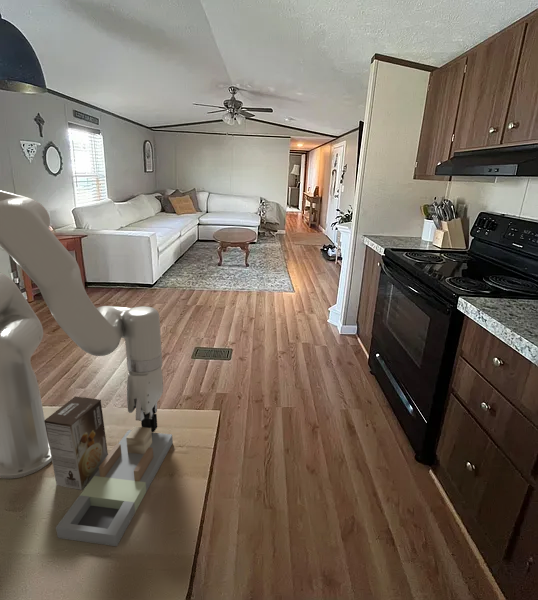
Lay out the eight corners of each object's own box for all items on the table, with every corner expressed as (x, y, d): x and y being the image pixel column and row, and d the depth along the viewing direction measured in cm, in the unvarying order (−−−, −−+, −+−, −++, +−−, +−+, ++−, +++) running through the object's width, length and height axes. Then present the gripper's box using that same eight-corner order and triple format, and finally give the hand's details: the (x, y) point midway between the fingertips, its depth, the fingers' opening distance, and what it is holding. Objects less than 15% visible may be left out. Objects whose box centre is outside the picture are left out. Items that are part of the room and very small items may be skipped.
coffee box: (84, 455, 86) (75, 394, 81) (109, 460, 84) (102, 398, 79) (54, 485, 77) (43, 419, 72) (82, 491, 76) (72, 424, 71)
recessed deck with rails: (57, 537, 66) (53, 516, 65) (129, 438, 92) (127, 421, 90) (116, 546, 65) (114, 524, 63) (172, 443, 91) (171, 425, 89)
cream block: (127, 452, 83) (126, 437, 82) (135, 440, 87) (134, 426, 86) (144, 454, 83) (143, 439, 82) (152, 442, 87) (151, 428, 86)
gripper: (142, 345, 92) (147, 409, 97) (112, 375, 78) (119, 448, 83) (172, 348, 91) (175, 412, 97) (146, 379, 77) (152, 452, 83)
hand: (149, 429), depth 90 cm, fingers closed
